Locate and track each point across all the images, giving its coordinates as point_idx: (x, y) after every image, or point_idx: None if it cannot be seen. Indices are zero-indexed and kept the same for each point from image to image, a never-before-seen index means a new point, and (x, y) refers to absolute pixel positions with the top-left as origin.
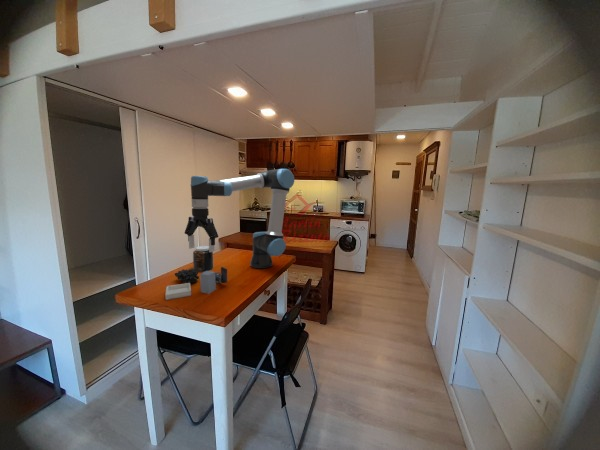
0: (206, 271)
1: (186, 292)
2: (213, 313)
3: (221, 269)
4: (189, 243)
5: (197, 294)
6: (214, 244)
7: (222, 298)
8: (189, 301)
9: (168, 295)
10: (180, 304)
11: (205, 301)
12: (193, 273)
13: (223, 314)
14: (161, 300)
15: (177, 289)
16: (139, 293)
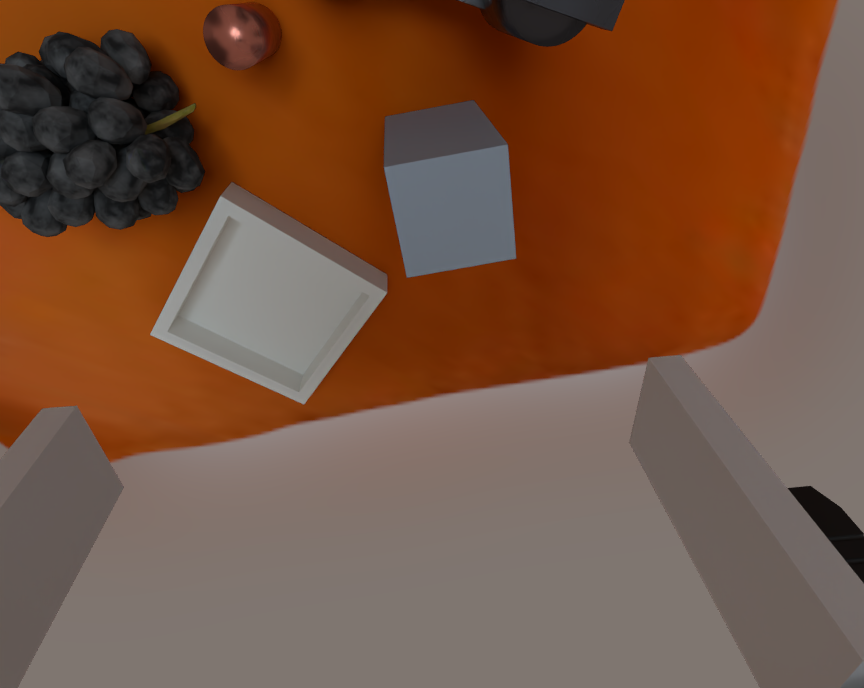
0: (402, 192)
1: (371, 312)
2: (681, 337)
3: (520, 17)
4: (55, 589)
5: None
6: (822, 510)
7: (628, 184)
8: (449, 324)
9: (313, 389)
10: (434, 368)
11: (543, 275)
12: (166, 166)
13: (742, 318)
14: None
15: (214, 276)
16: None
